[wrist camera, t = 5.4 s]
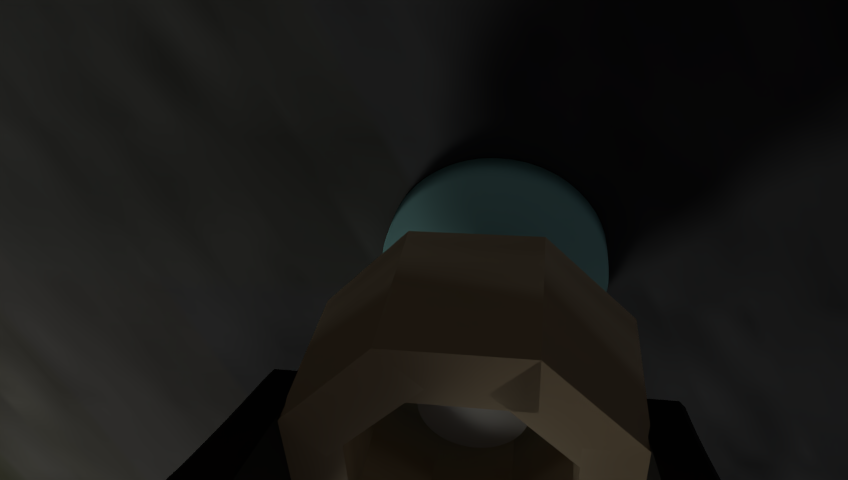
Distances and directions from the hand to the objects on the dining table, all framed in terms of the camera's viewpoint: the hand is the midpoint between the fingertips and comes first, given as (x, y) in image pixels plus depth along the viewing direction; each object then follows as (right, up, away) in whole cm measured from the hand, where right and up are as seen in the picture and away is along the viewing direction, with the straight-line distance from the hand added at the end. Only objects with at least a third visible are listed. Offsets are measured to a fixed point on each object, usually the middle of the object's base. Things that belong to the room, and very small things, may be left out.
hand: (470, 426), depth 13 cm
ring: (0, +1, +1) cm, 2 cm away
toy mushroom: (+1, +3, +4) cm, 5 cm away
